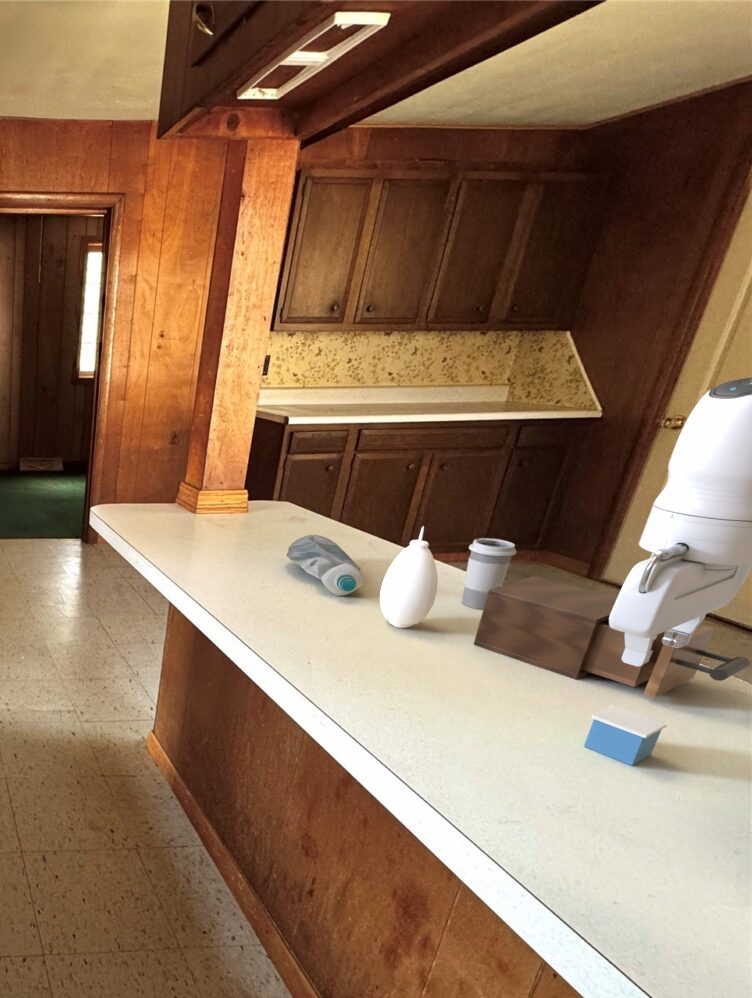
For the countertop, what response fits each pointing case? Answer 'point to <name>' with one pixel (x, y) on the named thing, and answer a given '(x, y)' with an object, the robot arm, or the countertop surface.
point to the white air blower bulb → (409, 585)
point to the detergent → (326, 563)
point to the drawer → (657, 660)
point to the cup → (485, 569)
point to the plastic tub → (623, 734)
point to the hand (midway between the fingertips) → (654, 654)
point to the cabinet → (543, 623)
